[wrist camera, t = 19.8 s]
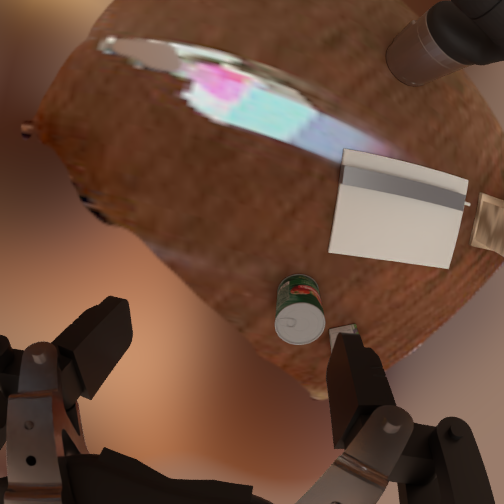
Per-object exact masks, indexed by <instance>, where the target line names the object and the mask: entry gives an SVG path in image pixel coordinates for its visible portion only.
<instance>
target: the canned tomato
mask: <svg viewBox="0 0 504 504" xmlns="http://www.w3.org/2000/svg"><path fill="white" fill-rule="evenodd" d="M324 328H325V317H324V313H323V308H322V303H321V298H320V293H319V288H318V285H317V283H316V282H315V281H314V280H313V279H312V278H311V277H309V276H307V275H304V274H294V275H291V276H288V277H287V278H285V279H284V280H283V281H282V282H281V283H280V285H279V287H278V291H277V306H276V319H275V330H276V332H277V334H278V336H279V337H280V338H281V339H282V340H284V341H286V342H287V343H290V344H295V345H303V344H308V343H311V342H313V341H314V340H316V339H317V338H318V337H319V336H320V335H321V334H322V332H323V331H324Z"/></svg>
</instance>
